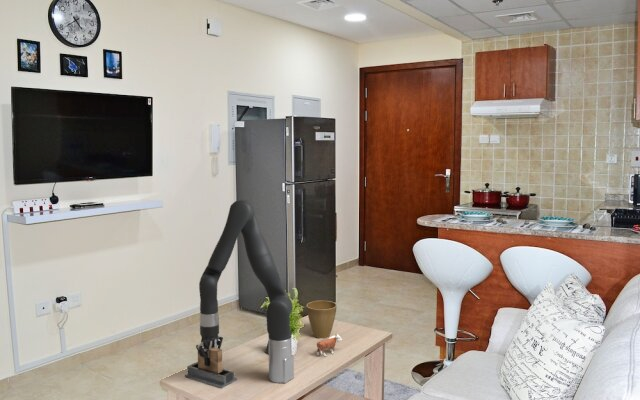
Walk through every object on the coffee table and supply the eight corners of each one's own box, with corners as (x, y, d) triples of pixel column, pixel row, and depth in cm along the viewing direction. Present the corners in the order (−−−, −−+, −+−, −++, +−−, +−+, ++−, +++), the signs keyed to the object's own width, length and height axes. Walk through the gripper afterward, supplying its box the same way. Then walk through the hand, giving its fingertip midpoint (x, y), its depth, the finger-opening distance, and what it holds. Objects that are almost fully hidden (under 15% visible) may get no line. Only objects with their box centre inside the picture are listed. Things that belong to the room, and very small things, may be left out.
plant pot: (304, 332, 280) (304, 301, 279) (333, 330, 283) (333, 299, 281) (309, 342, 266) (309, 309, 264) (339, 340, 268) (339, 308, 267)
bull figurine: (343, 352, 253) (343, 334, 252) (319, 358, 246) (319, 340, 245) (337, 349, 257) (337, 332, 256) (313, 355, 249) (313, 338, 248)
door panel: (222, 371, 223) (222, 349, 222) (218, 373, 221) (217, 351, 220) (202, 365, 229) (201, 344, 228) (198, 367, 227) (197, 346, 226)
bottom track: (236, 380, 224) (236, 370, 223) (221, 388, 216) (221, 378, 216) (200, 369, 234) (200, 360, 234) (184, 377, 227) (184, 367, 226)
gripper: (203, 329, 215) (204, 372, 217) (228, 320, 227) (228, 360, 228) (190, 326, 219) (191, 368, 221) (214, 317, 231) (215, 357, 232)
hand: (210, 364), depth 225 cm, fingers closed on door panel, 2 cm apart
